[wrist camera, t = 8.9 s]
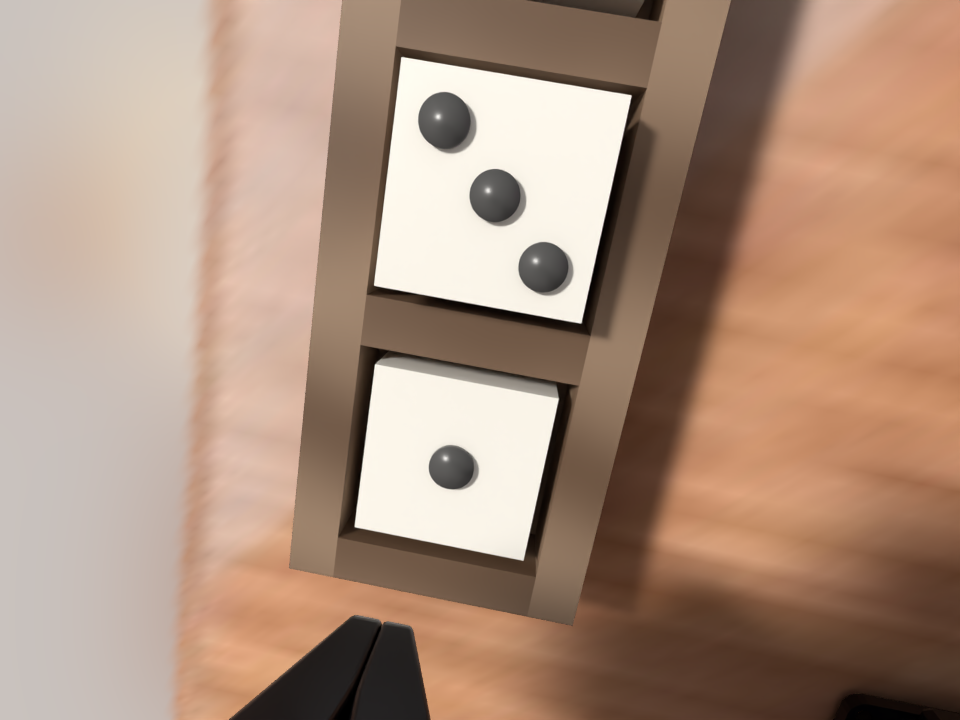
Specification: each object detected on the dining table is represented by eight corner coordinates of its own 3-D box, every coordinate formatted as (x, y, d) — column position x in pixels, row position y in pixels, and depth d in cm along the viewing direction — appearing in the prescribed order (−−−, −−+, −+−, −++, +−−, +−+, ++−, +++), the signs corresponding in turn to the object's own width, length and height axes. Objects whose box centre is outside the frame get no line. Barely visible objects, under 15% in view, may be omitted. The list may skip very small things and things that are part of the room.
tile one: (524, 519, 16) (523, 564, 14) (374, 490, 16) (352, 530, 14) (554, 375, 15) (559, 401, 13) (394, 345, 15) (372, 365, 13)
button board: (564, 557, 17) (572, 625, 14) (327, 510, 18) (289, 568, 15) (757, -247, 12) (830, -393, 9) (417, -296, 12) (384, -452, 10)
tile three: (573, 308, 13) (581, 324, 11) (395, 276, 14) (371, 286, 12) (615, 114, 12) (633, 93, 10) (420, 81, 12) (399, 54, 10)
